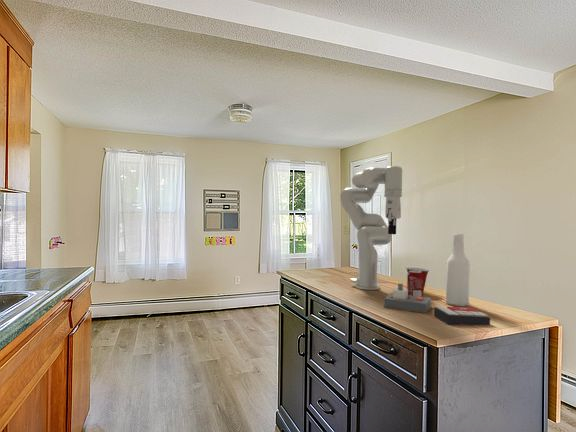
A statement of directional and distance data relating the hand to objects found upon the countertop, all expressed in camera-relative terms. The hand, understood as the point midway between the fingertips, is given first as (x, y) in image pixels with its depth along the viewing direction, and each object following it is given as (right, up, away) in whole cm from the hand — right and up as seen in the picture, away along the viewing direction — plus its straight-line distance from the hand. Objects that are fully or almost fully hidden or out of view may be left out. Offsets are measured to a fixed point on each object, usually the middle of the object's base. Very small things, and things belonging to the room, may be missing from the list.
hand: (392, 234), depth 163 cm
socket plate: (+2, -29, -16) cm, 33 cm away
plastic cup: (+16, -29, +12) cm, 36 cm away
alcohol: (+25, -30, -10) cm, 40 cm away
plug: (-1, -28, -15) cm, 32 cm away
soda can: (+11, -29, +2) cm, 31 cm away
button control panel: (+15, -30, -34) cm, 48 cm away
